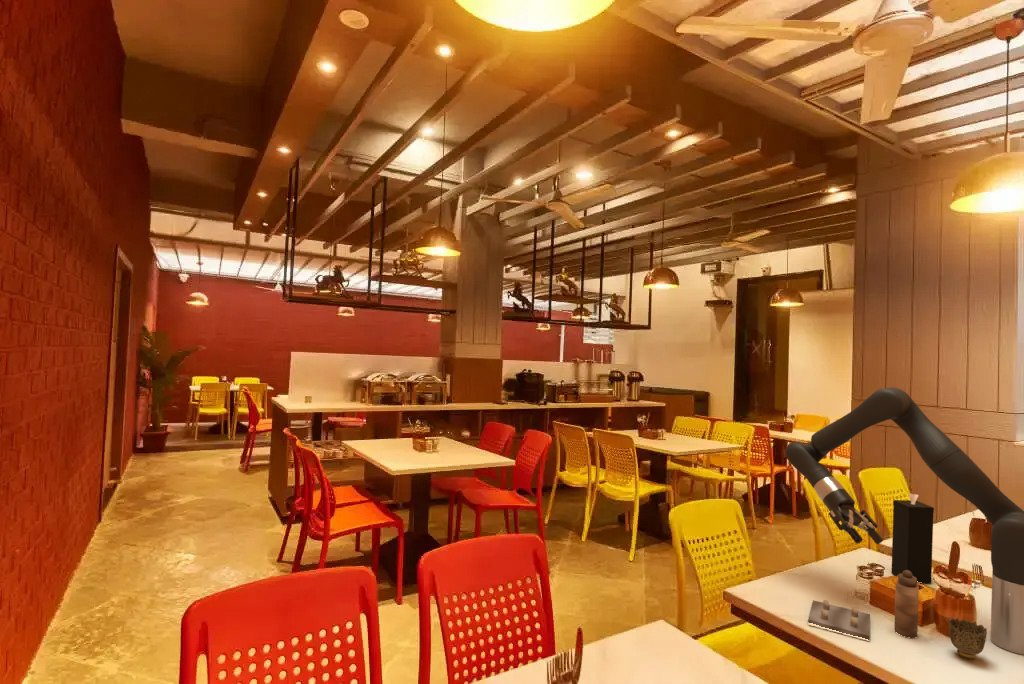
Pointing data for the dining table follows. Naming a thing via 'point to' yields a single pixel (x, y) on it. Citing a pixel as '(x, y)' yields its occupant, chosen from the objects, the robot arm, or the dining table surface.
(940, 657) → the dining table surface
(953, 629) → the cup
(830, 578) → the dining table surface
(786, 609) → the dining table surface
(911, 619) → the pepper mill
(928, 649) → the dining table surface
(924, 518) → the tissue box
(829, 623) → the board
